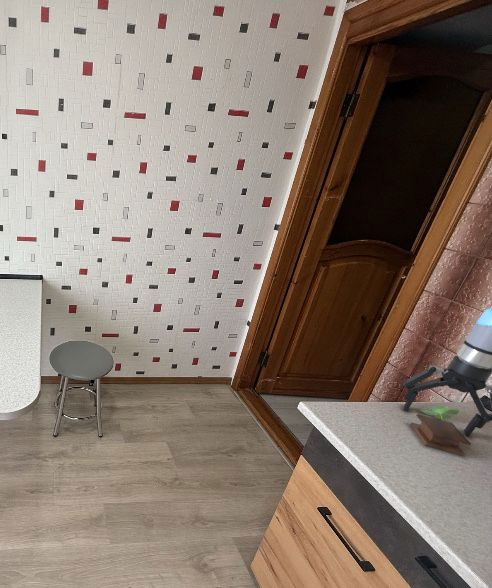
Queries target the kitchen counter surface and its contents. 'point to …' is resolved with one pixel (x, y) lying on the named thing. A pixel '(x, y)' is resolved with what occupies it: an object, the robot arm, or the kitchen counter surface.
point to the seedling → (441, 412)
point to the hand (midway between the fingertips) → (434, 420)
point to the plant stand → (439, 434)
